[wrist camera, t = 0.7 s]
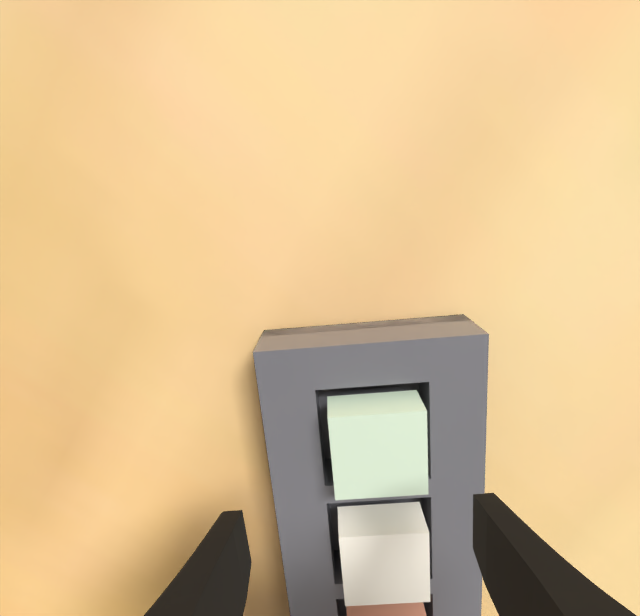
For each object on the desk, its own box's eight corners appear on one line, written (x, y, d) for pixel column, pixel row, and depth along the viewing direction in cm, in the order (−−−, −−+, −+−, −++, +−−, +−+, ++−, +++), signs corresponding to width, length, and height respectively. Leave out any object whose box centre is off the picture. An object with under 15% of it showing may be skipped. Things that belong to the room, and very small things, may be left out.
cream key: (420, 566, 19) (430, 601, 18) (343, 570, 19) (344, 606, 18) (419, 501, 18) (429, 532, 17) (337, 506, 18) (338, 537, 17)
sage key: (418, 466, 18) (428, 494, 16) (334, 472, 18) (335, 500, 16) (416, 389, 17) (427, 410, 15) (327, 396, 17) (327, 417, 15)
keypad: (460, 629, 24) (479, 687, 21) (304, 637, 24) (301, 695, 21) (463, 314, 19) (488, 333, 16) (263, 330, 19) (252, 352, 16)
